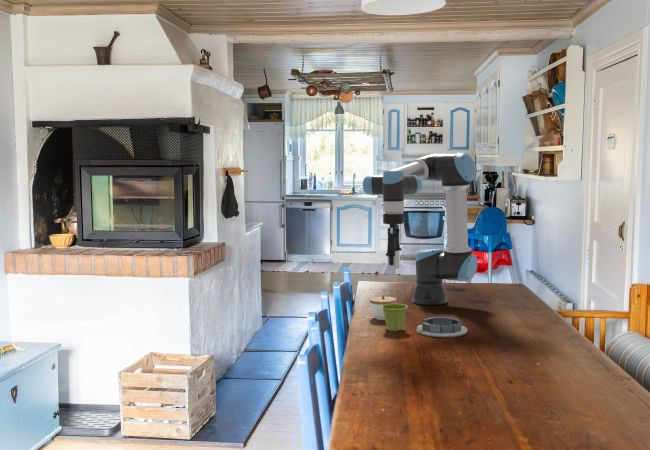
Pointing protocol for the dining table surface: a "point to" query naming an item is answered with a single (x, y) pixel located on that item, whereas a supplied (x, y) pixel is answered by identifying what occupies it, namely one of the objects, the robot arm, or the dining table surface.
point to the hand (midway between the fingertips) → (393, 271)
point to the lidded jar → (380, 305)
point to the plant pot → (394, 316)
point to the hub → (441, 327)
